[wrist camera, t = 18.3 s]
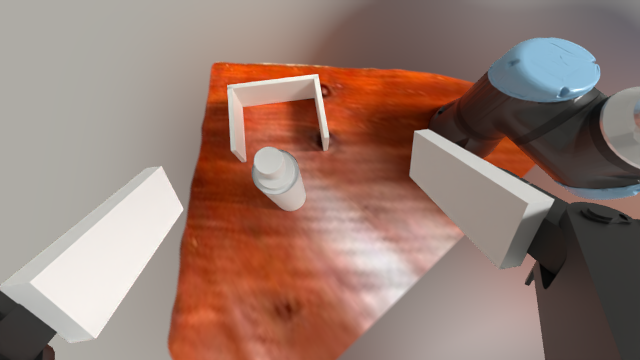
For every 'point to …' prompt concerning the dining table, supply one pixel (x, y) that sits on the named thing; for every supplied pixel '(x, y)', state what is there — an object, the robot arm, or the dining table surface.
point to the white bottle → (279, 178)
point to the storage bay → (269, 94)
